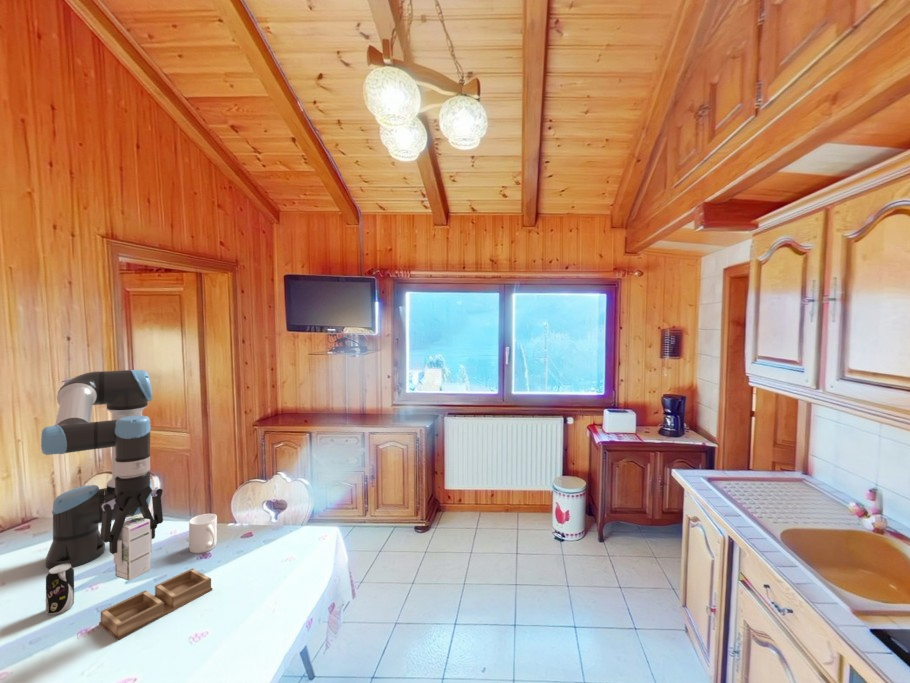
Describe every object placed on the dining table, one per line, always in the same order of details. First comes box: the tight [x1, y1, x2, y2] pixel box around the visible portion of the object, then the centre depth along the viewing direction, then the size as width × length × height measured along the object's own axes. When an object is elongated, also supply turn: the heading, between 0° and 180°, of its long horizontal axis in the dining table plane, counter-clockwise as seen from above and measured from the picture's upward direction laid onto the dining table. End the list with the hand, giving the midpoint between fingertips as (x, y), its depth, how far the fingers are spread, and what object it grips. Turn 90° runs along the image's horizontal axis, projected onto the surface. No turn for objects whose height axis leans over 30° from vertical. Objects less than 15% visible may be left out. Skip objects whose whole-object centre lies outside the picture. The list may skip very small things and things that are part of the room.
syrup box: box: [114, 515, 151, 581], centre depth 111 cm, size 6×6×14 cm
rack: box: [98, 568, 213, 641], centre depth 118 cm, size 11×24×4 cm, turn 150°
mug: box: [188, 513, 218, 554], centre depth 148 cm, size 9×12×11 cm
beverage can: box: [45, 564, 75, 615], centre depth 115 cm, size 6×6×12 cm
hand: (133, 557), depth 112 cm, fingers closed on syrup box, 6 cm apart
